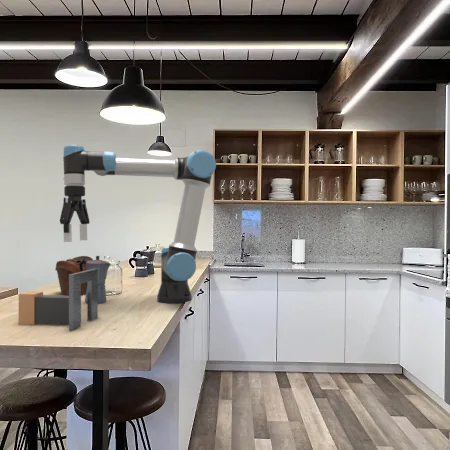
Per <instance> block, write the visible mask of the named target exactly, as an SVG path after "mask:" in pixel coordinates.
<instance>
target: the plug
mask: <svg viewBox="0 0 450 450" xmlns="http://www.w3.org/2000/svg"><path fill="white" fill-rule="evenodd" d="M18 325H50V326H54V325H55V326H69V295H62V294H61V295H58V294H57V295H56V294H50V295H49V294H44V291H26V292H22V293H19V294H18Z"/></svg>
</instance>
